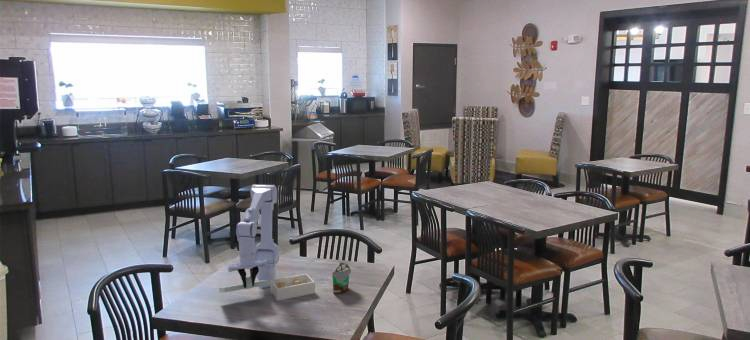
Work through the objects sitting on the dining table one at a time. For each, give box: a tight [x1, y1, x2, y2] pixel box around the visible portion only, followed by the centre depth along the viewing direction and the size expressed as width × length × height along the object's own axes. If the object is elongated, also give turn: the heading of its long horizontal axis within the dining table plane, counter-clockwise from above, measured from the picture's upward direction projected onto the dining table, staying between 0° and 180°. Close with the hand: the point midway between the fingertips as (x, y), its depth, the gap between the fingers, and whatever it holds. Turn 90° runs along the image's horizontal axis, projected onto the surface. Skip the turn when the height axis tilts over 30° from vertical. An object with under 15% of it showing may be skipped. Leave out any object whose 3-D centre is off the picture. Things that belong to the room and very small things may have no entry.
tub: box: [269, 273, 316, 301], centre depth 222 cm, size 10×16×5 cm, turn 117°
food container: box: [331, 262, 352, 295], centre depth 224 cm, size 12×6×10 cm, turn 168°
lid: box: [218, 276, 270, 293], centre depth 210 cm, size 15×18×4 cm
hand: (248, 286), depth 204 cm, fingers closed on lid, 2 cm apart
